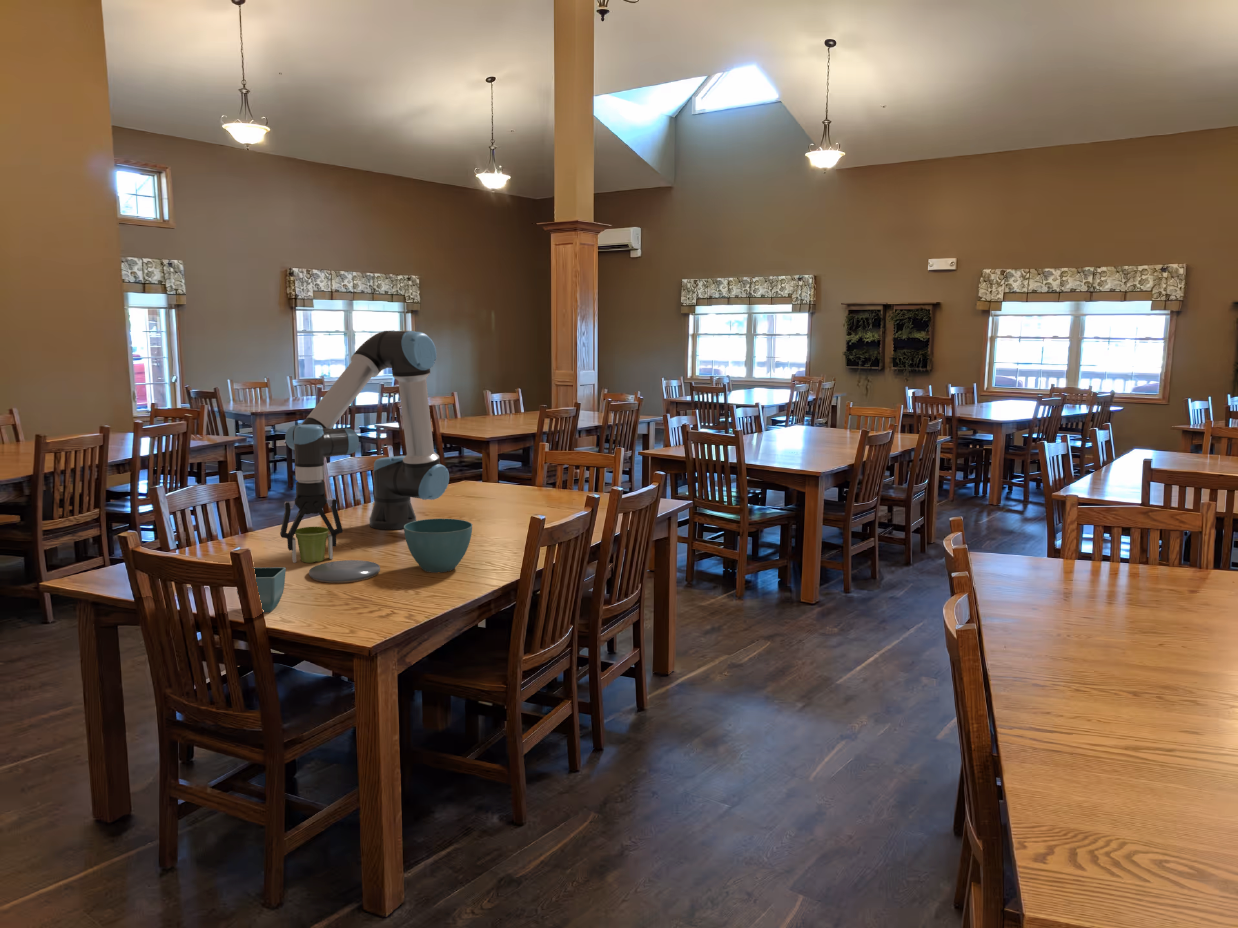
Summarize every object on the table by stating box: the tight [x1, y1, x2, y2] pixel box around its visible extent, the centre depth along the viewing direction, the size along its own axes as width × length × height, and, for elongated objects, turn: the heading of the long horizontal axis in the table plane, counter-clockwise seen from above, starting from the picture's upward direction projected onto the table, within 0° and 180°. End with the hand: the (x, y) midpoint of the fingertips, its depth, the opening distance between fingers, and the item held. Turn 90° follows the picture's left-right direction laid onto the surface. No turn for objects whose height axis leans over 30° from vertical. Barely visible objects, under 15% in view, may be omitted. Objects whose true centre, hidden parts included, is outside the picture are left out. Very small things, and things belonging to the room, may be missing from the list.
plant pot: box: [294, 526, 330, 564], centre depth 234 cm, size 9×9×9 cm
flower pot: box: [236, 566, 287, 613], centre depth 191 cm, size 9×9×9 cm
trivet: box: [308, 559, 381, 584], centre depth 222 cm, size 18×18×1 cm
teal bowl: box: [403, 518, 473, 574], centre depth 228 cm, size 18×18×12 cm
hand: (312, 559), depth 234 cm, fingers open, 9 cm apart
